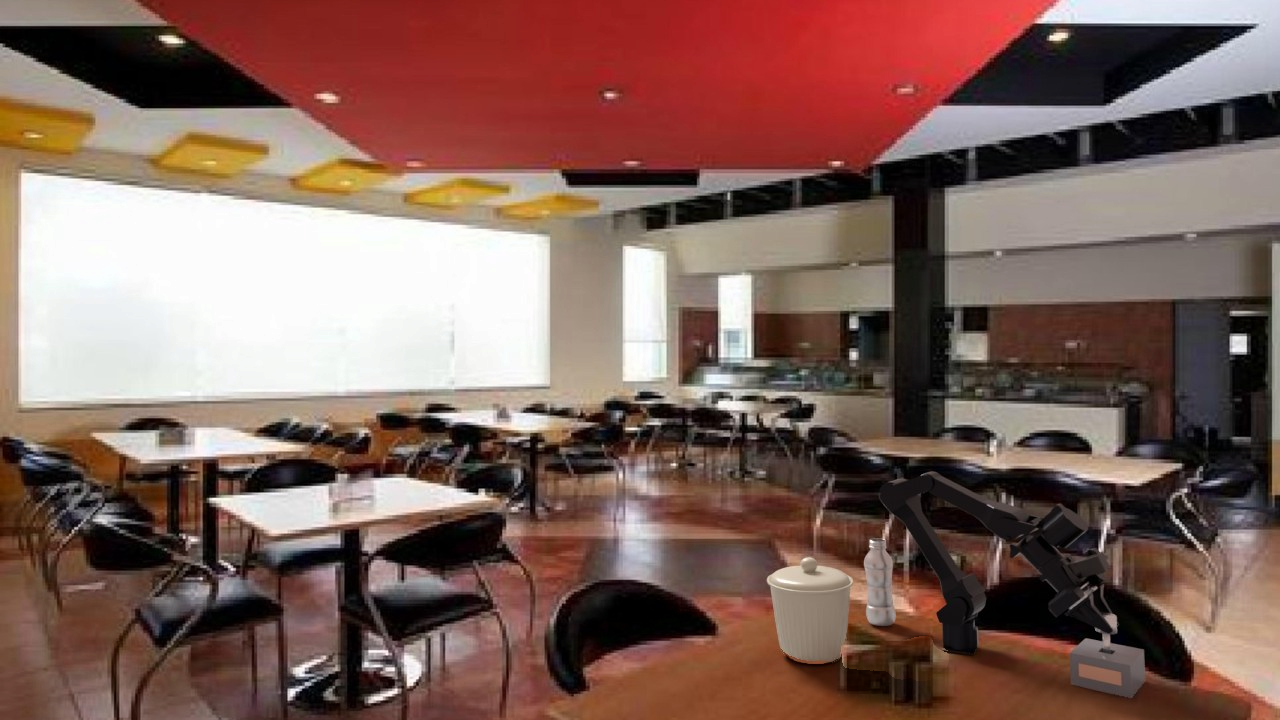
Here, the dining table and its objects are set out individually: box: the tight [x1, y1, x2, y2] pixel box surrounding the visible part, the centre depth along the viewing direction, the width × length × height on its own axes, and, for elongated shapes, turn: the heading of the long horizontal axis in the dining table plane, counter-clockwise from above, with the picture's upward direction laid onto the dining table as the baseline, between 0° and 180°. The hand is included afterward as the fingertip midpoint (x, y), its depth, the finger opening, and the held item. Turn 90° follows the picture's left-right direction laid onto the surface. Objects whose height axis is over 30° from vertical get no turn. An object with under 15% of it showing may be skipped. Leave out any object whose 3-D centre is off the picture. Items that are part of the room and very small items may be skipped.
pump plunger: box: [1094, 612, 1118, 654], centre depth 151 cm, size 4×4×9 cm
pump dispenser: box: [1069, 637, 1146, 699], centre depth 151 cm, size 10×10×6 cm
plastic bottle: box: [863, 538, 897, 627], centre depth 188 cm, size 6×7×20 cm
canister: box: [766, 556, 854, 661], centre depth 170 cm, size 18×18×21 cm
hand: (1114, 629), depth 150 cm, fingers closed on pump plunger, 4 cm apart
